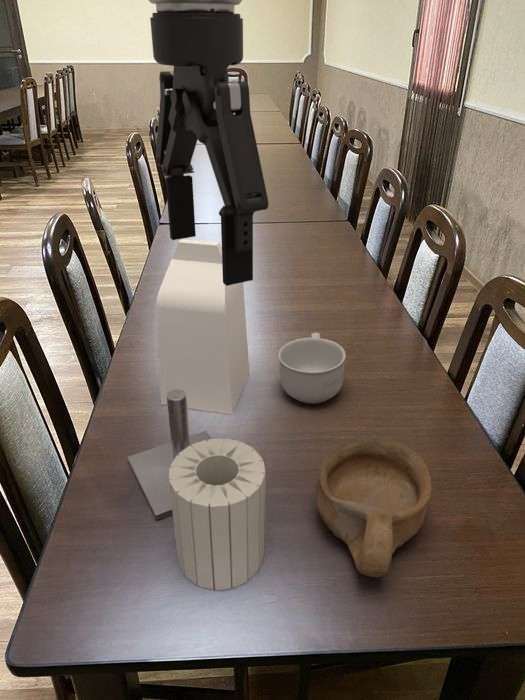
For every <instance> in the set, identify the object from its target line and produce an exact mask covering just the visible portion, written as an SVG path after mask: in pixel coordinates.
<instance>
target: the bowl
mask: <svg viewBox="0 0 525 700" xmlns="http://www.w3.org/2000/svg"><path fill="white" fill-rule="evenodd" d="M431 479H432V478H431V475H430V472H429V468H428V466H427V465H426V463H425V461H424V460H423V458H422V457H421V456H419V454H418V453H417V452H415V451H414V450H412V449H411V448H409V447H408V446H407V445H404V443H401V442H399V441H398V440H396V439H393V438H387V437H381V436H371V437H365V438H352V439H349V440H346V441H343V442H342V443H341V444H338V445H336V446H335V447H334V448H333V449H332V450H330V451H329V452H328V453H327V454H326V456H324V458H323V460H322V462H321V465H320V467H319V473H318V479H317V483H316V487H315V502H316V503H315V504H316V509H317V511H318V513H319V514H320V517H321V519H322V521H323V522H324V524H326V526H327V528H328V529H329V531H331V532H333V535H334V536H335V537H336V538H338V539H340V540H341V541H342V542H344V544H347V547H348V550H349V552H350V555H351V556H352V559H353V561H354V564H355V567H356V570H357V572H358V573H359V574H362V575H364V576H366V577H371V578H382V577H385V576H387V575H388V574H389V570H390V569H391V563H392V559H393V558H392V556H393V554H394V553H395V552H396V550H397V549H398V548H401V547H402V546H403V545H404V544H405V542H408V541H409V540H410V539H411V538H413V537H414V536H415V535H416V534H417V533H418V532H419V530H420V529H421V528H422V526H423V523H424V521H425V518H426V514H427V509H428V504H429V502H430V500H431V496H432V490H433V489H432V488H433V486H432V485H433V484H432V480H431Z"/></svg>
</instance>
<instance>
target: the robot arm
mask: <svg viewBox="0 0 525 700" xmlns="http://www.w3.org/2000/svg"><path fill="white" fill-rule="evenodd" d="M242 1H243V0H148V2H149V3H150V4H153V5H155V11H156V12H152V16H151V17H149V21H150V33H151V45H152V53H153V54H152V56H153V59H154V61H155V62H156V63H157V64H158V65H161V66H162V65H163V66H171V67H173V70H167V71H166V70H165V71H159V76H158V77H159V78H158V79H159V80H158V81H159V92H160V93H159V94H160V95H159V97H160V98H159V111H158V122H157V123H158V126H157V138H156V149H155V150H156V151H155V163H156V166H157V167H161V171H162V173H163V176H164V177H165V179H164V180H165V192H166V202H167V213H168V227H169V238H170V240H172V241H175V240H176V241H177V240H181V239H189V238H193V237H194V238H195V237H196V236H197V235H196V217H195V216H196V215H195V202H194V199H195V198H194V184H193V183H194V182H193V176H192V175H189V174H194V173H195V170H194V167H193V165H192V159H193V157H194V153H195V149H196V147H197V143H198V142H199V143H201V144H202V145H204V146H205V150H206V152H207V155H208V159H209V162H210V165H211V168H212V171H213V174H214V177H215V181H216V183H217V187H218V190H219V192H220V196H221V198H222V202H223V205H222V207H221V208H220V209H219V211H218V216H220V235H221V236H220V238H221V247H222V269H223V283H224V284H225V285H226V286H228V285H232V284H237V283H242V282H243V283H246V282H250V281H254V214H255V213H256V212H259V211H265V210H268V208H269V197H268V193H267V188H266V183H265V179H264V178H265V177H264V174H263V173H264V172H263V169H262V164H261V163H262V162H261V159H260V158H261V157H260V154H259V148H258V143H257V139H256V133H255V129H254V125H253V124H254V123H253V119H252V116H251V115H252V114H251V102H250V86H249V83H248V82H247V81H245V80H244V81H242V80H241V81H229V75H228V68H229V66H238V65H239V64H241V63H242V61H243V59H244V18H242V17H241V14H240V13H235V11H236V10H235V9H236V8H235V7H236V6H238V5H239V6H240V4H241V3H242ZM185 174H186V175H185Z"/></svg>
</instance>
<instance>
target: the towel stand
mask: <svg viewBox="0 0 525 700" xmlns="http://www.w3.org/2000/svg"><path fill="white" fill-rule="evenodd" d="M167 404H168V405H167V414H168V421H169V434H170V442H167V443H164V444H162V445H159V446H155V447H153V448H150V449H147V450H144V451H141V452H138V453H134V454H131V455H129V456H127V457H126V459H127V463H128V465H129V467H130V469H131V471H132V473H133V476H134V477H135V480H136V482H137V484H138V486H139V488H140V490H141V492H142V494H143V496H144V499H145V500H146V503H147V504H148V506H149V508H150V509H149V510H151V513H152V515H153V517H154V519H155V521H156V522H157V521H159V520H162V519H165V518H166V517H170V516H173V513H172V504H171V495H170V486H169V468H170V465H171V464H172V462H173V461H174V459H175V457H176V456H177V455H178V454H179V453H180V452H181V451H183V450H184V449H185V448H187V447H188V446H191V445H192V444H195V443H197V442H200V441H203V440H206V441H207V442H208V439H212V437H211V436H210V435H209V433H208V432H207V430H204V431H201V432H198V433H195V434H191V435H190V426H189V414H188V413H189V412H188V408H187V400H186V393H185V391H183V390H181V389H174V390H171V391H169V392H168V393H167Z"/></svg>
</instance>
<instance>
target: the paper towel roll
mask: <svg viewBox="0 0 525 700" xmlns="http://www.w3.org/2000/svg"><path fill="white" fill-rule="evenodd" d="M169 486H170V495H171V504H172V513H173V514H172V519H173V520H172V521H173V522H172V523H173V529H174V530H173V531H174V538H175V548H176V555H177V563H178V566H179V568H180V570H181V572H182V574H183V575H184V577H185V578H186V579H188V580H189V581H190V582H191V583H192V584H194V585H196V586H197V587H199V588H204V589H207V590H210V591H223V590H231V589H235V588H237V587H239V586H241V585H243V584H247V582H248V581H250V580H251V579H252V578H253V577H254V576H255V575H256V574H257V573H258V571H260V570H259V569H260V568H261V566H262V563H263V561H264V557H265V538H266V537H265V527H266V467H265V462H264V460H263V458H262V456H261V455H260V454H259V453H258V452H257V450H256V449H255V448H254V447H252V446H250V445H248V444H246V443H245V442H243V441H240V440H235V439H230V438H221V437H220V438H211V439H208V442H207V441H206V440H203V441H200V442H197V443H195V444H192V445H191V446H188V447H187V448H185V449H184V450H183V451H181V452H180V453H179V454H178V455H177V456H176V457H175V459H174V461H173V462H172V464H171V465H170V468H169Z"/></svg>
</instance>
